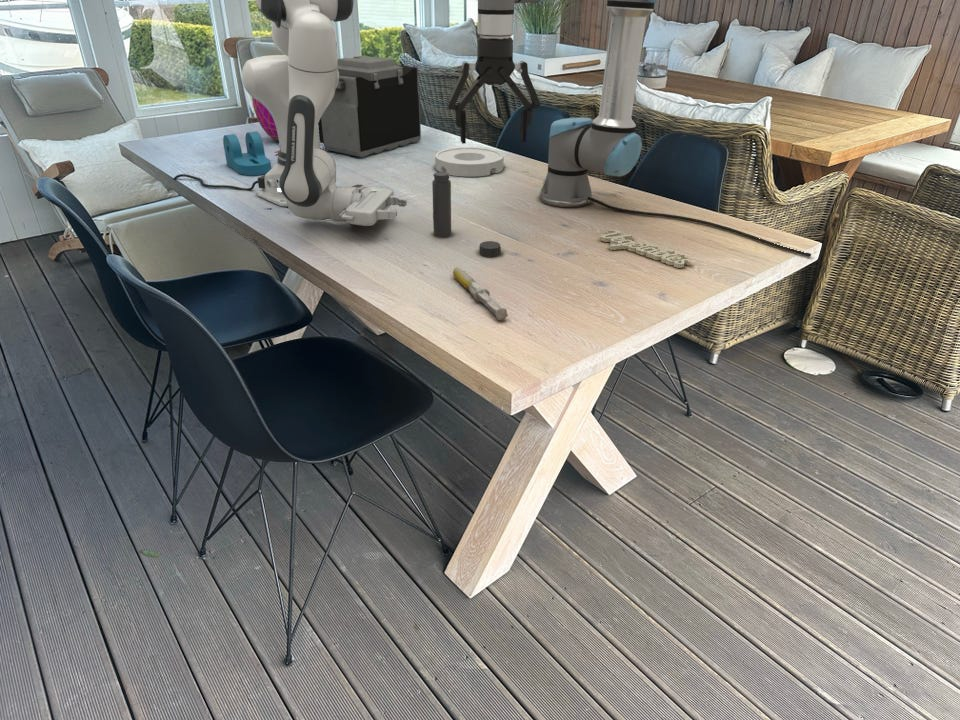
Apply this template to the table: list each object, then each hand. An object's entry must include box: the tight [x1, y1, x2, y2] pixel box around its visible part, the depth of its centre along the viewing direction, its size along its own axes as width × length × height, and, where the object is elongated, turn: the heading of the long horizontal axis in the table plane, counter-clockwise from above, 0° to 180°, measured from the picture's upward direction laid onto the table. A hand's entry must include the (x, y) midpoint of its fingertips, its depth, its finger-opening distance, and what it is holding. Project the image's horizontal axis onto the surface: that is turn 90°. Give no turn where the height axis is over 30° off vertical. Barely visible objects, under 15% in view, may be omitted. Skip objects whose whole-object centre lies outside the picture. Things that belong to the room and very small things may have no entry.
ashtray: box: [434, 146, 505, 178], centre depth 232 cm, size 23×23×4 cm
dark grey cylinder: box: [431, 171, 452, 238], centre depth 173 cm, size 5×5×16 cm
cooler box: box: [318, 55, 422, 159], centre depth 250 cm, size 37×22×30 cm, turn 144°
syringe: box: [452, 266, 509, 321], centre depth 145 cm, size 25×4×3 cm, turn 21°
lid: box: [478, 240, 502, 258], centre depth 166 cm, size 5×5×2 cm
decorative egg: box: [251, 54, 279, 141], centre depth 257 cm, size 19×19×30 cm
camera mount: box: [222, 131, 272, 176], centre depth 226 cm, size 18×10×10 cm, turn 35°
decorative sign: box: [600, 229, 691, 269], centre depth 168 cm, size 26×1×10 cm
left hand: (401, 208), depth 176 cm, fingers open, 8 cm apart
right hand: (493, 141), depth 153 cm, fingers open, 13 cm apart
